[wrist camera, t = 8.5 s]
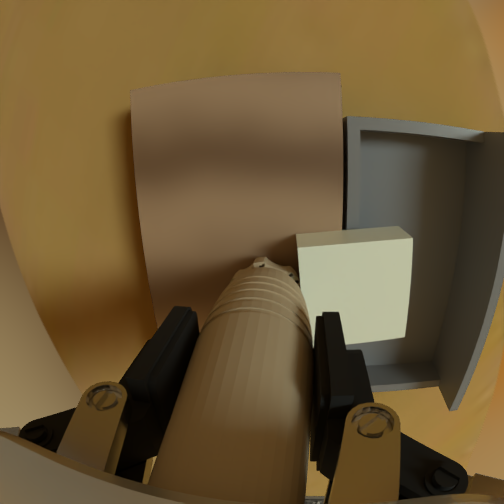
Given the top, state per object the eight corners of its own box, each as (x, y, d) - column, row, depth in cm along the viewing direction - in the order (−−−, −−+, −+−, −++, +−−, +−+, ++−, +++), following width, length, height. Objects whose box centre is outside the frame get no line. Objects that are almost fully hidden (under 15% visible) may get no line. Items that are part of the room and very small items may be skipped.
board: (154, 96, 17) (130, 90, 14) (332, 84, 15) (339, 73, 12) (188, 382, 23) (176, 408, 20) (321, 389, 22) (323, 419, 19)
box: (340, 119, 16) (357, 111, 11) (470, 132, 15) (519, 135, 10) (328, 369, 21) (332, 422, 16) (435, 363, 20) (457, 409, 15)
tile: (296, 234, 15) (297, 247, 13) (398, 225, 14) (413, 237, 12) (302, 326, 17) (303, 348, 15) (393, 316, 16) (404, 337, 14)
